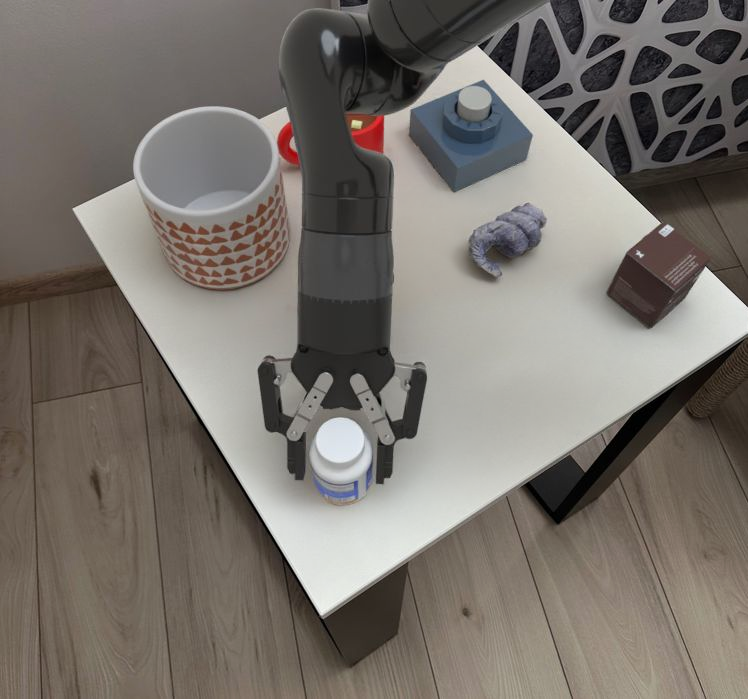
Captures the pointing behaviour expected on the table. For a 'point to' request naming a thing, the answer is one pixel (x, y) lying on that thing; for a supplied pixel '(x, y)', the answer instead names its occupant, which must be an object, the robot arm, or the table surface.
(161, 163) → the planter
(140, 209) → the table surface
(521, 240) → the seashell
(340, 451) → the pill bottle
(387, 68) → the robot arm
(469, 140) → the button housing
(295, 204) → the table surface
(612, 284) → the box
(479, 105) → the grey short cylinder
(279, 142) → the mug
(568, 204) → the table surface
